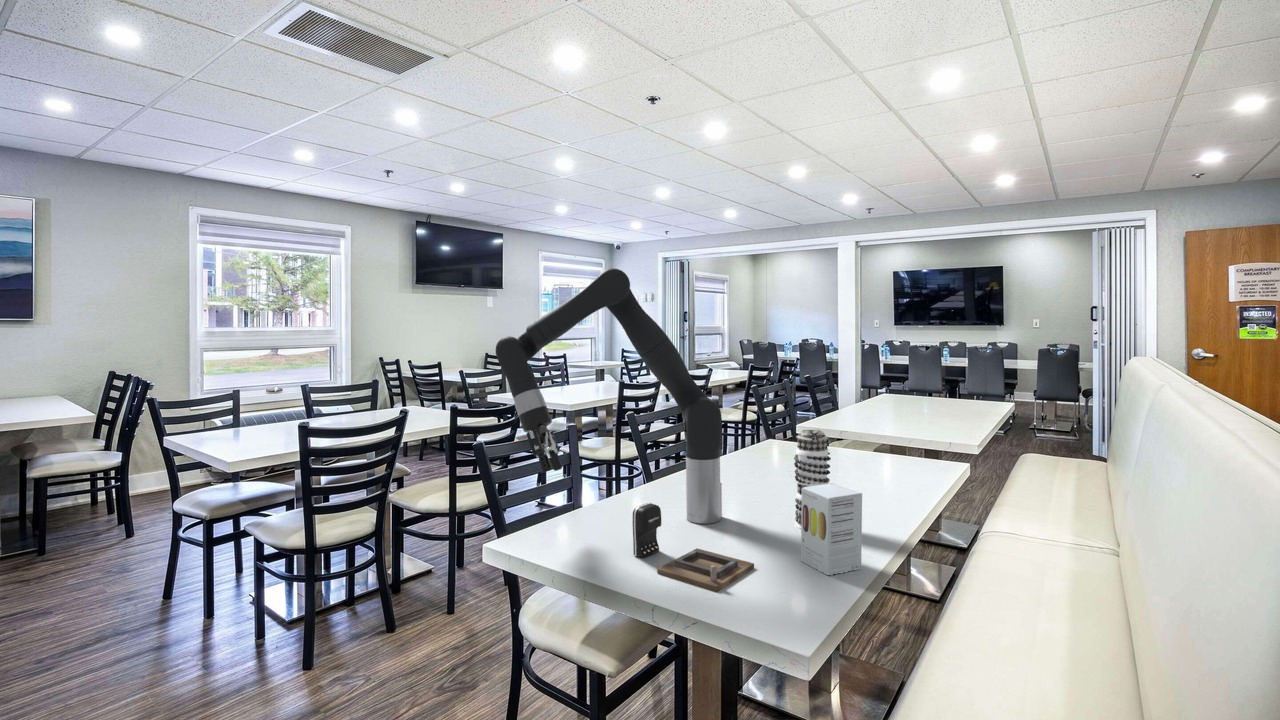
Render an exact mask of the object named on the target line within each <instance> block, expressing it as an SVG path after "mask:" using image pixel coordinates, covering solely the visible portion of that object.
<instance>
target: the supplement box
mask: <svg viewBox="0 0 1280 720" xmlns="http://www.w3.org/2000/svg"><path fill="white" fill-rule="evenodd" d="M862 525H863V492H859V491H856V490H853V489H850V488H848V487H845V486H841V485H839V484H836V483H834V482H832V483H829V484H824V485H816V486H809V487H803V488H802V521H801V529H800V530H801V536H800V538H801V539H800V541H801V543H800V544H801V545H800V547H801V548H800V549H801V550H800V562H802V563H805V564H806V565H808V566H810V567H811V568H812V569H815V570H816V569H817V570H816V571H818V572H820V573H822V572H823V573H824V575H825V574H826V575H825V576H827V575H831V576H834V575H833V574H836V575H838V574H837V573H841V572H845V573H847V572H846V571H850V570H855V571H857V570H856V569H859V570H861V569H862V546H863V545H862V538H863V537H862V535H863V534H862V532H863V526H862ZM860 568H861V569H860ZM850 572H851V571H850ZM823 573H822V574H823ZM841 574H842V573H841Z"/></svg>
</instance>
